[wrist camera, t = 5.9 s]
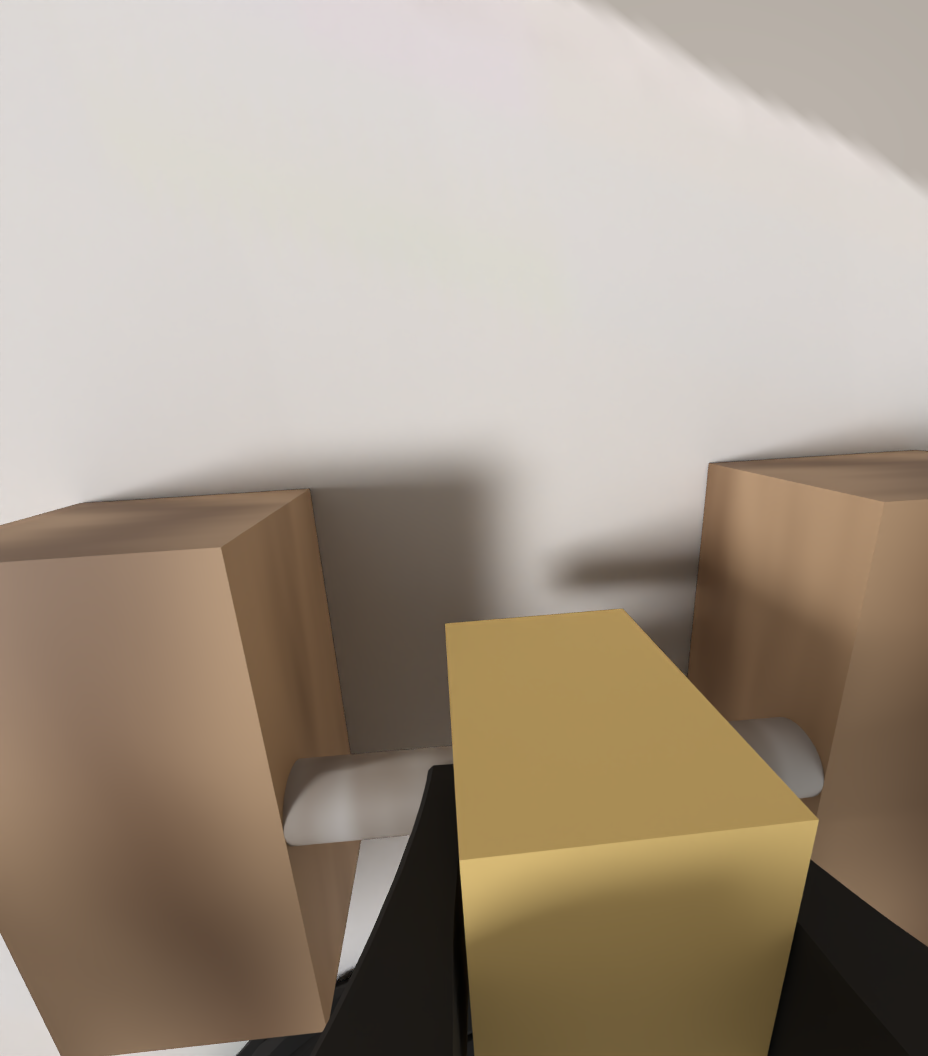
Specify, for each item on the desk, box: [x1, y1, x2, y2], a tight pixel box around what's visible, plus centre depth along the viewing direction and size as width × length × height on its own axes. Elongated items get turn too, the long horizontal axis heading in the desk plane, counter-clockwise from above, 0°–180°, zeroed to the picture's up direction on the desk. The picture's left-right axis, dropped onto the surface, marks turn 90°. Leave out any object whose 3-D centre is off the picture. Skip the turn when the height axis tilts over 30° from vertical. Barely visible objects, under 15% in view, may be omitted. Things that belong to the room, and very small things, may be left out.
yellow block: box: [445, 609, 819, 1056], centre depth 8 cm, size 4×6×5 cm, turn 3°
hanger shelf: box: [0, 450, 928, 1056], centre depth 11 cm, size 23×12×5 cm, turn 93°
